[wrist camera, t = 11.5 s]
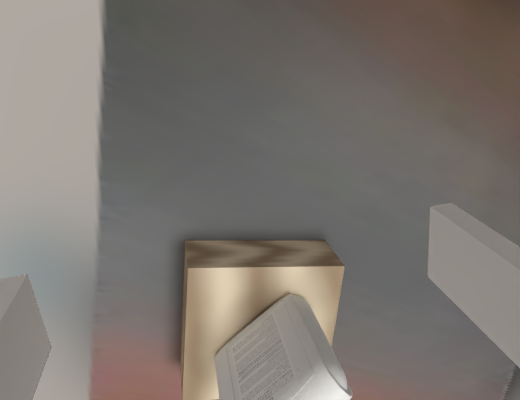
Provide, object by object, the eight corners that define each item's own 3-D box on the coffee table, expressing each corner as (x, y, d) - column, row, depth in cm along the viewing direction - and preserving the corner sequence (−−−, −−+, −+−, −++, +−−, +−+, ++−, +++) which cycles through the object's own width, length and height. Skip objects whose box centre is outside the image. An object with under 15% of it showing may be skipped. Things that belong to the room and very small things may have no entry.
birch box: (323, 238, 47) (344, 266, 42) (306, 352, 52) (324, 391, 47) (184, 238, 45) (188, 268, 39) (180, 359, 49) (182, 401, 44)
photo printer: (236, 382, 44) (260, 504, 32) (205, 356, 42) (219, 474, 31) (319, 312, 43) (374, 412, 32) (291, 284, 42) (338, 377, 30)
